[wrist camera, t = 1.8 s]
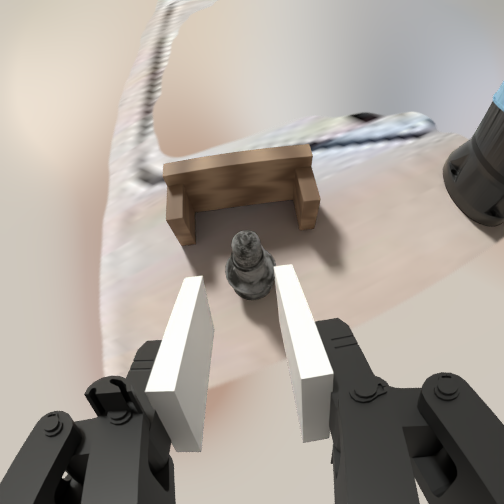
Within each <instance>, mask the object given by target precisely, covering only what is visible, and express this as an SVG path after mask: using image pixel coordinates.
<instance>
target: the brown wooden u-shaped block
mask: <svg viewBox="0 0 504 504" xmlns="http://www.w3.org/2000/svg"><path fill="white" fill-rule="evenodd" d="M312 157H313V156H312V152H311V149H310V146H309V144H306V145H294V146H284V147H274V148H265V149H256V150H248V151H241V152H233V153H226V154H219V155H213V156H206V157H200V158H194V159H188V160H183V161H177V162H172V163H167V164H164V166H163V178H164V180H165V182H166V184H167V206H166V221H167V223H168V224H169V226H170V228H171V229H172V231H173V233H174V234H175V236H176V238H177V239H178V241H179V243H180V244H181V246H185V245H192V244H196V235H195V213H196V212H203V211H210V210H217V209H224V208H231V207H238V206H246V205H253V204H261V203H269V202H277V201H286V200H293V202H294V207H295V211H296V216H297V221H298V225H299V230H307V229H314V227H315V222H316V218H317V213H318V209H319V204H320V200H321V199H320V196H319V192H318V188H317V185H316V181H315V178H314V174H313V171H312V168H311V165H312Z"/></svg>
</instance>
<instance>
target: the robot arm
mask: <svg viewBox="0 0 504 504" xmlns="http://www.w3.org/2000/svg"><path fill="white" fill-rule="evenodd" d="M443 178H444V182H445V185H446V188H447V190H448V192H449V194H450V196H451V197H452V199H453V200H454V202H455V203H456V204H457V206H458V207H459V208H460V209H461V210H462V211H463V212H464V213H465V214H466V215H467V216H469V217H470V218H471V219H473V220H475V221H476V222H478V223H480V224H483V225H486V226H497V225H499V224H501V223H502V222H503V221H504V81H503V83H502V85H501V86H500V88H499V90H498V91H497V92H496V93H495V94H494V96H493V102H492V104H491V106H490V107H489V109H488V111H487V113H486V114H485V116H484V118H483V120H482V121H481V123H480V125H479V127H478V128H477V130H476V132H475V134H474V135H473V137H472V138H471V139H470V140H469V141H467V142H466V143H464V144H463V145H462V146H460V147H459V148H457V149H456V150H454V151H453V152H452V153H451V154H450V156H449V157H448V159H447V161H446V162H445V164H444V167H443ZM274 275H275V284H276V294H277V303H278V313H279V323H280V328H281V333H282V338H283V343H284V347H285V352H286V357H287V363H288V367H289V373H290V378H291V383H292V388H293V393H294V398H295V403H296V408H297V413H298V419H299V424H300V429H301V434H302V440H303V443H305V442H311V441H317V440H322V439H327V438H329V434H330V432H331V435H332V439H333V450H332V458H331V464H333V471H334V493H335V504H420V503H419V498H418V493H417V488H416V483H415V479H416V481H417V483H418V485H419V487H420V489H421V490H422V492H423V494H424V496H425V498H426V500H427V501H428V503H429V504H504V425H503V424H502V422H501V421H500V420H499V419H498V418H497V416H496V415H495V414H494V413H493V412H492V411H491V409H490V408H489V407H488V406H487V405H486V404H485V403H484V401H483V400H482V399H481V398H480V397H479V396H478V394H477V393H476V392H475V391H474V390H473V389H472V388H471V387H470V386H469V384H468V383H467V382H466V381H465V380H464V379H462V378H461V377H460V376H458V375H455V374H452V373H442V372H441V373H437V374H434V375H432V376H430V377H429V378H427V379H426V381H425V382H424V384H423V386H422V388H394V387H391V386H389V385H388V383H387V382H386V381H384V380H383V379H381V378H380V377H377V376H375V375H374V374H373V372H372V370H371V368H370V366H369V364H368V362H367V360H366V358H365V356H364V354H363V352H362V351H361V349H360V347H359V345H358V343H357V341H356V339H355V337H354V336H353V333H352V331H351V329H350V328H349V326H348V325H347V324H346V323H344V322H343V321H342V320H340V319H339V318H334V319H329V320H323V321H316V322H314V319H313V317H312V314H311V311H310V309H309V306H308V304H307V301H306V299H305V296H304V293H303V291H302V288H301V286H300V283H299V281H298V278H297V276H296V273H295V270H294V268H293V265H292V264H289V265H282V266H274ZM213 338H214V326H213V322H212V317H211V313H210V308H209V304H208V299H207V294H206V290H205V285H204V280H203V276H195V277H187V278H185V279H184V281H183V284H182V287H181V289H180V292H179V295H178V297H177V300H176V303H175V306H174V308H173V311H172V314H171V317H170V319H169V322H168V325H167V328H166V331H165V333H164V336H163V339H162V340H155V341H146V342H145V343H144V344H143V345H142V346H141V347H140V348H139V349H138V351H137V353H136V356H135V358H134V362H133V363H132V365H131V367H130V371H129V372H128V375H127V377H126V379H125V378H123V377H121V376H108V377H104V378H101V379H99V380H97V381H95V382H94V383H93V384H92V385H90V386H89V387H88V389H87V390H86V392H85V394H84V395H85V396H86V398H87V400H88V401H89V403H90V405H91V406H92V408H93V409H94V411H95V413H96V414H97V416H98V417H97V418H93V419H88V420H83V421H76V422H74V421H73V420H72V418H71V417H70V415H69V414H68V413H65V412H63V411H54V412H50V413H48V414H46V415H45V416H43V417H42V418H41V419H40V420H39V421H38V422H37V424H36V426H35V427H34V428H33V430H32V432H31V433H30V435H29V436H28V438H27V440H26V441H25V443H24V444H23V446H22V448H21V449H20V451H19V453H18V454H17V456H16V457H15V459H14V461H13V463H12V464H11V466H10V468H9V469H8V471H7V473H6V475H5V476H4V478H3V480H2V482H1V483H0V504H176V502H175V483H174V464H173V460H172V458H171V456H170V455H169V452H170V445H171V443H172V445H173V446H174V448H175V450H176V451H177V452H201V450H202V439H203V429H204V419H205V409H206V399H207V390H208V381H209V372H210V363H211V354H212V346H213ZM65 471H66V472H67V473H68V475H67V476H66V477H65V478H64V479H62V476H63V474H64V472H65ZM414 478H415V479H414Z"/></svg>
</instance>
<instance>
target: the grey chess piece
mask: <svg viewBox="0 0 504 504" xmlns="http://www.w3.org/2000/svg"><path fill="white" fill-rule="evenodd" d="M231 246H232V253H231V256H230V258H229V259H228V261H227V264H226V269H225V273H226V278H227V280H228V282H229V284H230V285H231V286H232V287H233V288H234V290H235V292H236V293H237V294H238V295H239V296H241V297H242V298H244V299H248V300H257V299H260V298H262V297H264V296H266V295H267V294H268V293H269V292H270V290H271V289H272V287H273V283H274V279H275V275H274V266H276V263H275V260H274V259H273V257H272V255H271V254H270V253H269V252H267V251H266V250H264V248H263V246H262V245H261V241H260V238H259V237H258V235H257V234H256V233H255V232H253V231H250V230H244V231H241V232H239V233H237V234H236V235H235V236H234V238H233V240H232V245H231Z"/></svg>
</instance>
